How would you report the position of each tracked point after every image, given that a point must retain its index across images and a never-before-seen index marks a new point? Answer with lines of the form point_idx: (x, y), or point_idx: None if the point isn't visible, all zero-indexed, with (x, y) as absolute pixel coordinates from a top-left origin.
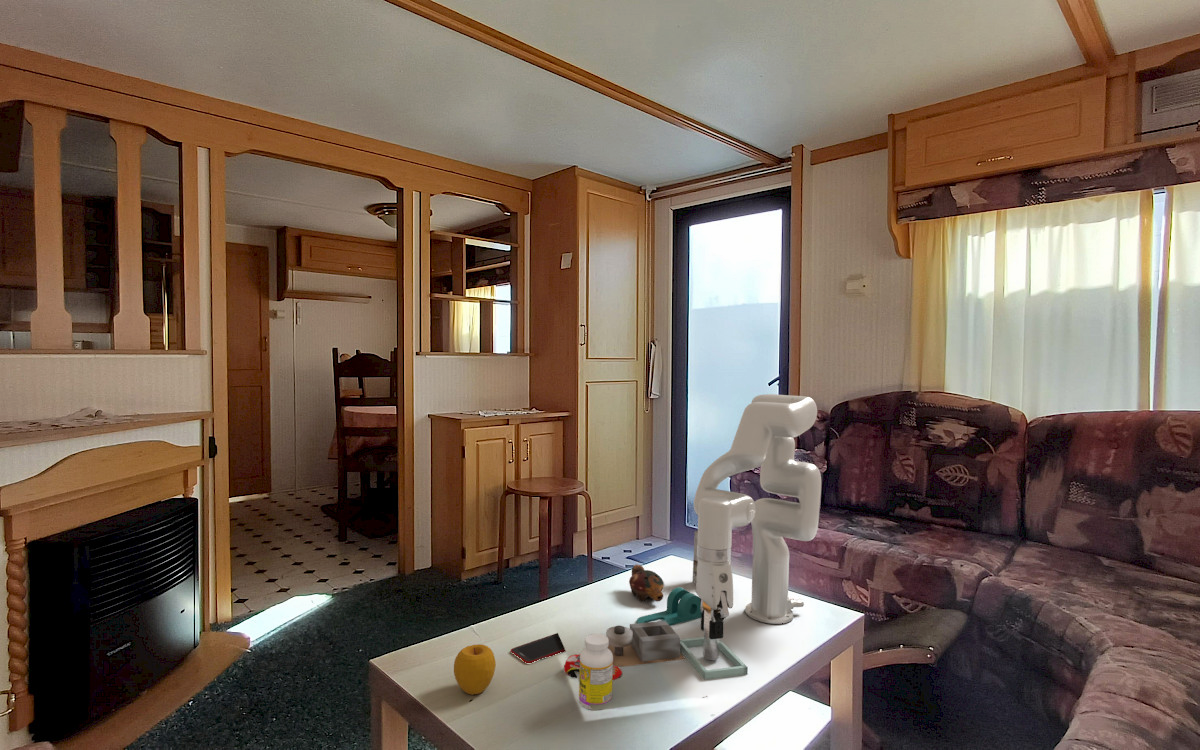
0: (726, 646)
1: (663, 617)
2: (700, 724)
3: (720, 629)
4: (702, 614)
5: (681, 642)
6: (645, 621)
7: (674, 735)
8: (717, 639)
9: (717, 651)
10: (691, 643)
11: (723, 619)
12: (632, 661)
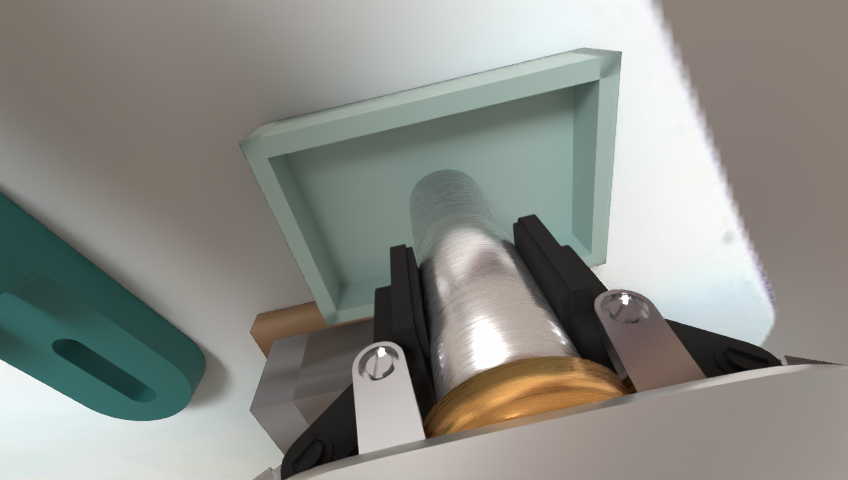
0: (375, 113)
1: (52, 342)
2: (750, 274)
3: (585, 272)
4: (435, 398)
5: (350, 314)
6: (132, 396)
7: (754, 331)
8: (505, 231)
9: (483, 196)
10: (323, 266)
11: (684, 326)
12: None
